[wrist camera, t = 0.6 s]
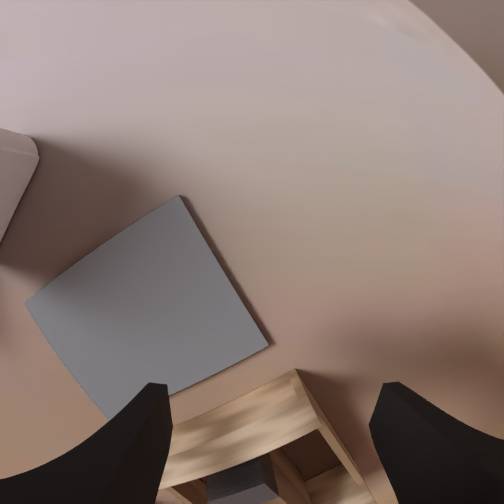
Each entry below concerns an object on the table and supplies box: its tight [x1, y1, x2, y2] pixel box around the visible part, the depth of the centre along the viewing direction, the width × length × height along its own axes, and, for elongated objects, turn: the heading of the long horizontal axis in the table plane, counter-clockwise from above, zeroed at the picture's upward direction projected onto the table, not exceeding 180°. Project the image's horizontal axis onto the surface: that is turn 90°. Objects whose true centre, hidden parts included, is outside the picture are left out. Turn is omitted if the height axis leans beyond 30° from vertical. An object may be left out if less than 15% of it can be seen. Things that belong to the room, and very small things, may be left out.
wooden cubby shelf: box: [158, 369, 376, 504], centre depth 19 cm, size 13×13×6 cm
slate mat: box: [24, 195, 269, 421], centre depth 19 cm, size 14×11×1 cm
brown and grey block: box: [207, 447, 311, 504], centre depth 18 cm, size 4×9×7 cm, turn 30°
